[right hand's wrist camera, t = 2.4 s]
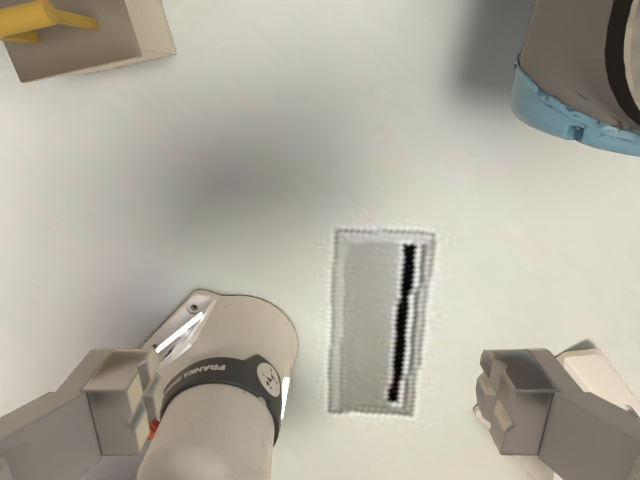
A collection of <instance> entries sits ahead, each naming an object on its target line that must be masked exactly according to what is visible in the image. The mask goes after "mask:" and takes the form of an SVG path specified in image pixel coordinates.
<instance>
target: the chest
mask: <svg viewBox="0 0 640 480" xmlns="http://www.w3.org/2000/svg"><path fill="white" fill-rule="evenodd" d="M124 1H125V4H126V7H127V10H128V13H129V17H130V20H131V23H132V26H133V29H134V32H135V35H136V38H137V41H138V44H139V47H140V50H141V54H142V57H140V58H136V59H131V60H127V61H123V62H118V63H114V64H109V65H105V66H100V67H96V68H92V69H87V70H83V71H78V72H74V73H69V74H65V75H86V74H90V73H94V72H99V71H103V70H108V69H112V68H117V67H121V66H126V65H130V64H135V63H139V62H143V61H148V60H152V59H157V58H161V57H166V56H170V55H175V54H176V50H175V47H174V44H173V40H172V37H171V33H170V30H169V27H168V23H167V20H166V17H165V13H164V10H163V6H162V3H161V0H124Z"/></svg>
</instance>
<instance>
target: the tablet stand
mask: <svg viewBox="0 0 640 480" xmlns="http://www.w3.org/2000/svg"><path fill="white" fill-rule="evenodd" d="M556 359H557V360H558V361H559V363H560V364H561V365H562V366H563V367H564V369H565V370H566V371H567V372H568V373H569V375H570V376H571V377H572V378H573V379H574V380H575V382H576V383H577V384H578V385H579V386H580V388H581V389H582V390H583V391H584V392H591V393H593V394H595V395H597V396H599V397H601V398H603V399H605V400H607V401H609V402H610V403H612V404H614V405H630V406H631V407H632V408H633V409H634V411H635V412H636V413H637V415H638V416H639V418H640V401H639V400H638V398H637V397H636V396H635V394H634V393H633V392H632V390H631V389H630V388H629V386H628V385H627V384H626V382H625V381H624V380H623V378H622V377H621V376H620V374H619V373H618V371H617V370H616V369H615V367H614V366H613V365H612V363H611V362H610V361H609V359H608V358H607V357H606V355H605V354H604V353H603V351H601V350H599V349H586V350H577V351H569V352H564V353H563V354H561V355H559V356H558V357H556ZM474 412H475V415H476V417H477V418H478V419H479V420H480V421H481V422H482V423H483V424H484V425H485V426H486V428H487V429H488V430H489V431H490V428H491V423H490V422H488V421H487V420H486V419H484V418H483V417H482V414H481V412H480V410H479V407H478V405H477V406H476V407H475V408H474ZM513 457H514V458H515V459H516V460H517V461H518V462H519V463H520V464H521V465H522V466H523V467H524V468H525V469H526V470H527V472H528V473H529V474H530V475H531V476H532V477H533V478H534V479H535V480H563V479H562V478H561V477H560V476H559V475H557V474H556V473H555V472H554V471H553V470H552V469H550V468H549V467H548V466H547V465H546V464H545V463H544V462H542V461H541V460H540V459H539V458H538V456H523V455H513Z"/></svg>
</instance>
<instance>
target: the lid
mask: <svg viewBox="0 0 640 480" xmlns="http://www.w3.org/2000/svg"><path fill="white" fill-rule="evenodd" d="M0 40H3V42H4V44H5V46H6V49H7V51H8V53H9V56H10V58H11V60H12V63H13V65H14V67H15V70H16V72H17V74H18V77H19V79H20V81H21V82H22V83H25V82H34V81H38V80H43V79H47V78H52V77H56V76H60V75H65V74H69V73H74V72H78V71H83V70H87V69H92V68H96V67H100V66H105V65H109V64H114V63H118V62H123V61H127V60H131V59H136V58H140V57H142V54H141V50H140V47H139V44H138V41H137V38H136V35H135V32H134V29H133V26H132V23H131V20H130V17H129V13H128V10H127V7H126V4H125V1H124V0H0Z"/></svg>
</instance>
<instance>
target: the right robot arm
mask: <svg viewBox="0 0 640 480" xmlns="http://www.w3.org/2000/svg"><path fill="white" fill-rule="evenodd" d="M192 305H196V306H197V308H195V307H193V306H192ZM297 353H298V338H297V334H296V331H295V329H294V327H293V325H292V323H291V322H290V320H289V319H288V318H287V317H286V315H285V314H284V313H283V312H282V311H280V310H279V309H278V308H276V307H275V306H273V305H272V304H270V303H268V302H266V301H264V300H261V299H258V298H254V297H249V296H222V295H218V294H215V293H213V292H209V291H206V290H196V291H194V292H193V293H192V294H191V295H190V296H189V297H188V298H187V299H186V300H185V302H184V303H183V304H182V305H181V306H180V307H179V308H178V309H177V310H176V311H175V312H174V313H173V314H172V315H171V316H170V317H169V318H168V320H167V321H166V322H165V323H164V324H163V325H162V326H161V327H160V328H159V329H158V330H157V331H156V332H155V333H154V334H153V335H152V336H151V337H150V339H149V340H148V341H147V342H146V343H145V344H144V345H143V346H142V347H141V348H140V349H93V350H91V351H90V352H89V353H88V354H87V355H86V357H85V358H84V359H83V360H82V361H81V363H80V364H79V365H78V366H77V367H76V368H75V370H74V371H73V372H72V373H71V374H70V376H69V377H68V378H67V379H66V380H65V382H64V383H63V384H62V385H61V386H60V388H59V389H58V390H57V391H56V392H49V393H47V394H45V395H43V396H41V397H39V398H37V399H35V400H33V401H31V402H30V403H28V404H26V405H24V406H22V407H20V408H18V409H16V410H14V411H12V412H11V413H9V414H7V415H5V416H3V417H1V418H0V480H77V479H78V478H79V477H80V476H82V475H83V474H84V473H85V472H86V471H87V470H89V469H90V468H91V467H92V466H93V465H94V464H96V463H97V462H98V461H99V460H100V459H101V458H102V456H117V455H139V454H140V452H141V450H142V448H143V446H144V444H145V442H146V440H147V439H148V440H149V439H152V438H153V439H152V441H151V443H150V445H149V448H148V450H147V452H146V454H145V456H144V458H143V461H142V463H141V465H140V467H139V470H138V473H137V478H136V480H271V463H272V452H273V447H274V445H275V443H276V441H277V438H278V434H279V431H280V426H281V424H280V422H281V419H283V414H284V408H285V402H286V396H287V395H288V394H289V392H290V388H291V370H292V368H293V365H294V363H295V360H296V357H297ZM480 365H481V367H482V369H483V370H484V372H483V373H482V374H481V375H480V376H479V377H478V378H477V385H476V396H477V403H478V407H479V410H480V412H481V414H482V417H483V418H484V419H486V420H487V421H488V422H490V423H491V428H490V433H491V436H492V438H493V440H494V442H495V444H496V446H497V448H498V450H499V452H500V454H501V455H523V456H538V458H539V459H540V460H541V461H542V462H544V463H545V464H546V465H547V466H548V467H549V468H550V469H552V470H553V471H554V472H555V473H556V474H557V475H559V476H560V477H561V478H562V479H563V480H640V418H639V417H637V416H635V415H633V414H631V413H629V412H627V411H626V410H624V409H622V408H620V407H618V406H616V405H614V404H612V403H610V402H609V401H607V400H605V399H603V398H601V397H599V396H597V395H595V394H593V393H591V392H584V391H583V390H582V389H581V388H580V386H579V385H578V384H577V383H576V382H575V380H574V379H573V378H572V377H571V376H570V375H569V373H568V372H567V371H566V370H565V369H564V367H563V366H562V365H561V364H560V363H559V361H558V360H557V359H556V358H555V357H554V355H553V354H552V353H551V352H550V351H549V350H547V349H545V348H537V349H520V350H484V351H483V353H482V355H481V360H480Z"/></svg>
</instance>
